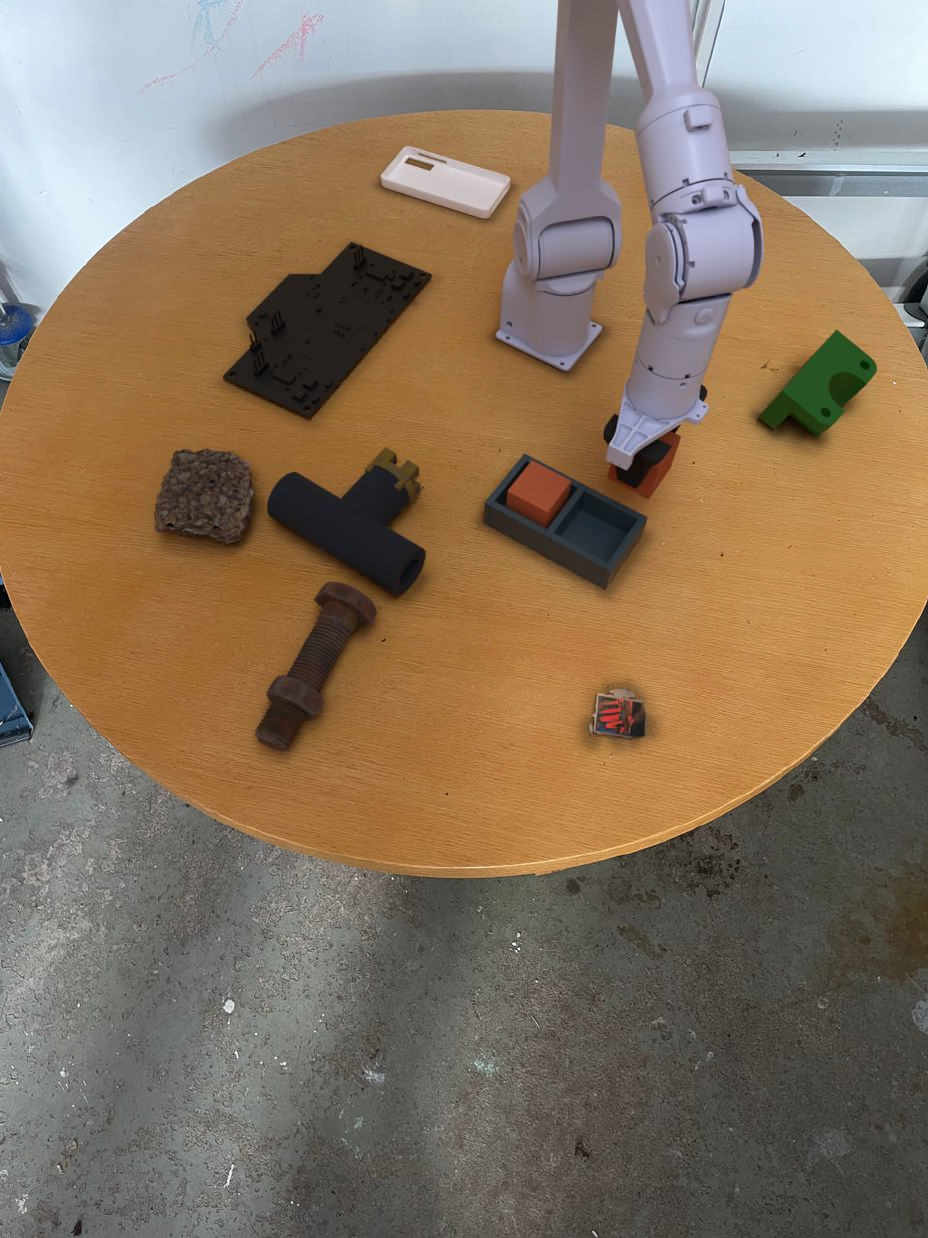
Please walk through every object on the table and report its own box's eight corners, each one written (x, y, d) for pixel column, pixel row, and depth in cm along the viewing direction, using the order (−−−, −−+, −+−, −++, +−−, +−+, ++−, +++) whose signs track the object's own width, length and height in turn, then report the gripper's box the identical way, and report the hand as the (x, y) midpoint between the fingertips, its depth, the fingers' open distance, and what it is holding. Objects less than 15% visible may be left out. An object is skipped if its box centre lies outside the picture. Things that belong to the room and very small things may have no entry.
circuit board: (310, 421, 91) (305, 401, 88) (201, 370, 94) (194, 349, 92) (431, 279, 101) (431, 257, 99) (330, 238, 105) (327, 216, 102)
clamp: (789, 463, 94) (817, 443, 85) (747, 427, 95) (770, 404, 86) (864, 380, 94) (899, 351, 85) (821, 344, 94) (852, 312, 85)
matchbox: (650, 737, 74) (651, 735, 74) (591, 743, 74) (592, 741, 74) (639, 687, 77) (640, 685, 76) (582, 693, 76) (583, 691, 76)
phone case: (379, 186, 110) (487, 220, 107) (378, 176, 108) (487, 210, 105) (406, 154, 113) (511, 186, 110) (405, 144, 112) (512, 176, 109)
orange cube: (505, 518, 85) (507, 490, 81) (528, 488, 87) (531, 459, 83) (543, 539, 84) (547, 512, 80) (566, 508, 85) (571, 480, 81)
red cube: (606, 478, 80) (614, 446, 76) (629, 447, 82) (637, 414, 78) (648, 499, 79) (658, 468, 75) (670, 468, 81) (681, 435, 77)
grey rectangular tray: (483, 523, 85) (484, 502, 82) (522, 474, 88) (524, 452, 85) (605, 590, 81) (610, 571, 78) (641, 537, 84) (648, 516, 81)
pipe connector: (340, 417, 84) (465, 489, 80) (346, 451, 89) (466, 521, 85) (261, 496, 80) (390, 576, 76) (273, 528, 85) (395, 605, 81)
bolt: (270, 755, 75) (348, 613, 81) (310, 765, 72) (388, 617, 78) (227, 723, 71) (312, 576, 77) (267, 732, 68) (352, 579, 74)
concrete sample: (245, 564, 83) (233, 534, 78) (144, 547, 83) (126, 517, 79) (279, 470, 88) (269, 437, 83) (184, 455, 89) (169, 422, 84)
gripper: (677, 434, 63) (642, 538, 75) (759, 317, 69) (714, 431, 81) (593, 394, 65) (572, 502, 77) (679, 283, 71) (647, 399, 83)
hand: (640, 463), depth 79 cm, fingers closed on red cube, 4 cm apart
